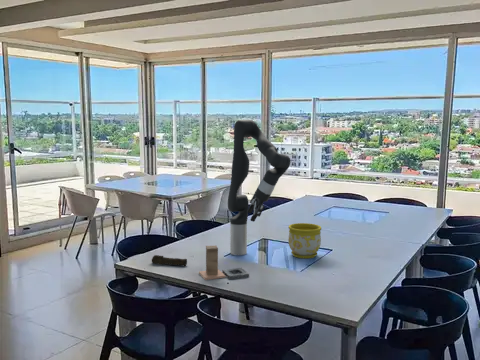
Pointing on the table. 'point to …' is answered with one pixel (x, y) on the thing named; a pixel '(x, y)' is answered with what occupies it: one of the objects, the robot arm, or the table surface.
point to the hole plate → (234, 276)
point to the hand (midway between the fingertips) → (250, 216)
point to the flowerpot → (304, 240)
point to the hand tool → (168, 260)
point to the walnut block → (212, 260)
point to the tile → (208, 277)
